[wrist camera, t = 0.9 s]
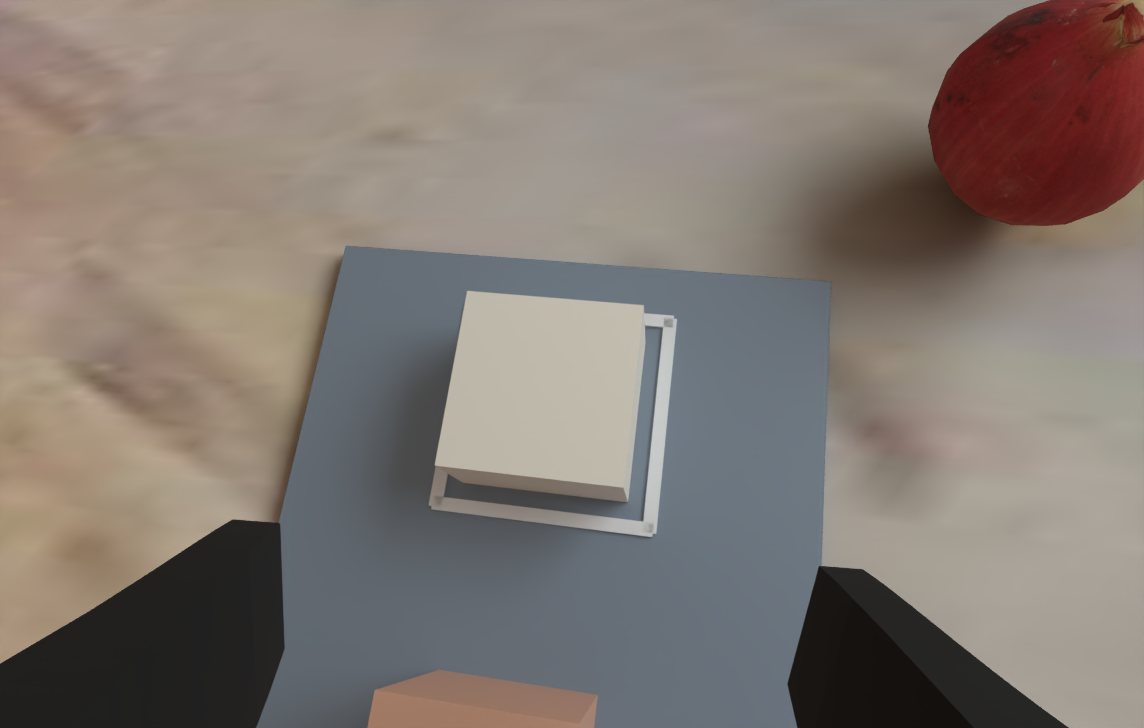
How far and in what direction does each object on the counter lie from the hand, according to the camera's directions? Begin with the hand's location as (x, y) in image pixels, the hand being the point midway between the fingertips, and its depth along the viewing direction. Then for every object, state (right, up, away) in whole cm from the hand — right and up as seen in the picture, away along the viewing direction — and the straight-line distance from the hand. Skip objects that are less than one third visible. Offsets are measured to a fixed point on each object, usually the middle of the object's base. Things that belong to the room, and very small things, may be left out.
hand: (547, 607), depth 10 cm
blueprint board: (-1, -3, +12) cm, 12 cm away
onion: (+14, +9, +14) cm, 22 cm away
